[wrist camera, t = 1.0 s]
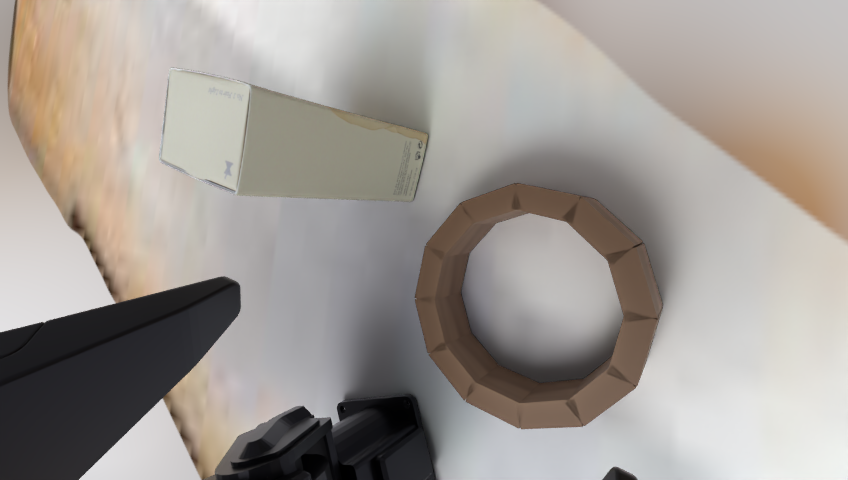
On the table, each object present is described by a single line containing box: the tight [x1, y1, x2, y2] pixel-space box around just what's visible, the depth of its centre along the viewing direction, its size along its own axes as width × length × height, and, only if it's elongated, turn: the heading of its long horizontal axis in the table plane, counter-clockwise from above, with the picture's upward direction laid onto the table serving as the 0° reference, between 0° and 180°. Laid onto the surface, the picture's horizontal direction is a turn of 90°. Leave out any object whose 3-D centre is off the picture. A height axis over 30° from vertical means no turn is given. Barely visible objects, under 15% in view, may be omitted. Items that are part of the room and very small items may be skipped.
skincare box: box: [159, 68, 428, 202], centre depth 23 cm, size 6×4×12 cm
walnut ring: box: [415, 183, 663, 429], centre depth 22 cm, size 11×11×3 cm
